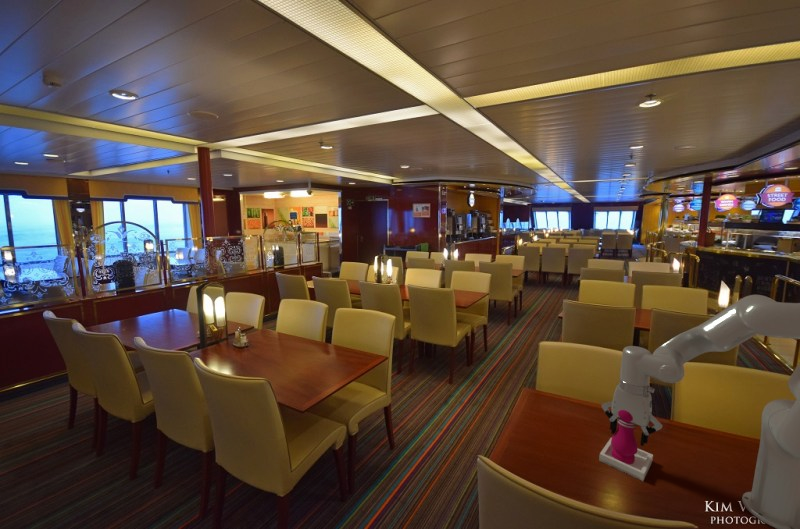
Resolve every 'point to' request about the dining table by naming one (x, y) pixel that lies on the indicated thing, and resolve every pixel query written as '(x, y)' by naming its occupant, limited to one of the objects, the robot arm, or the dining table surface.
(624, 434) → the pepper mill
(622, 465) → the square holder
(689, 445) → the dining table surface
